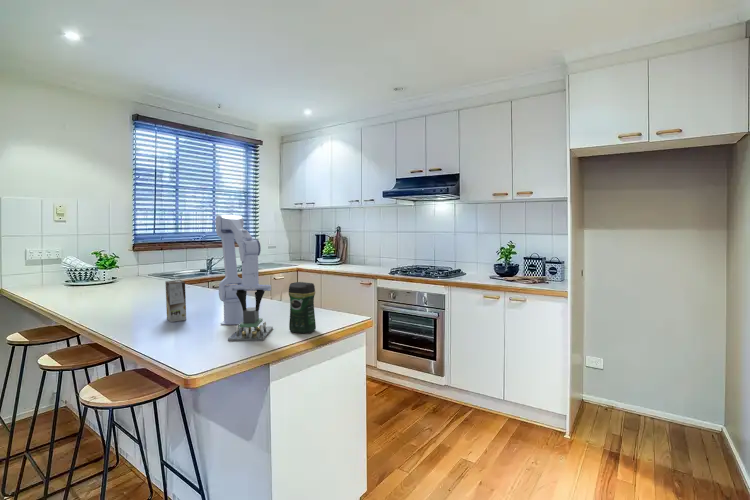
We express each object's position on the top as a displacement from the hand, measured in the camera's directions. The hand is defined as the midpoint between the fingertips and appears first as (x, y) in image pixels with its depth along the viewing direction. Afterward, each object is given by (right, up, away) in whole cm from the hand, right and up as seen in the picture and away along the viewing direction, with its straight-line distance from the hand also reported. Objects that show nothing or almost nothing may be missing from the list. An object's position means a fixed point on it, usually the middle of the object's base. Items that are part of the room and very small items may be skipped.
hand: (251, 310), depth 147 cm
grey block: (0, -5, 0) cm, 5 cm away
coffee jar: (+18, -9, +5) cm, 21 cm away
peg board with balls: (0, -9, +1) cm, 9 cm away
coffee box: (-39, -8, +24) cm, 46 cm away
